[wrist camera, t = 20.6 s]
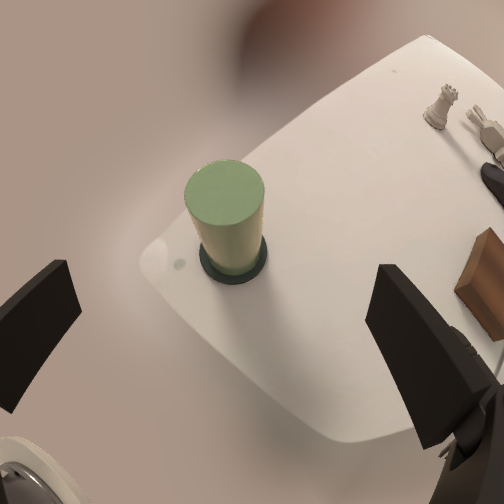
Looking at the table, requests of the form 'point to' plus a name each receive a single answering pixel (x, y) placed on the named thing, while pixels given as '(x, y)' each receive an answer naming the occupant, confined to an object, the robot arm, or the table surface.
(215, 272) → the coaster
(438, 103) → the rook chess piece
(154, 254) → the table surface
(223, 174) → the green round cylinder
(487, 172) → the computer mouse
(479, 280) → the walnut platform
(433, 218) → the table surface
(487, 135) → the bunny figurine
